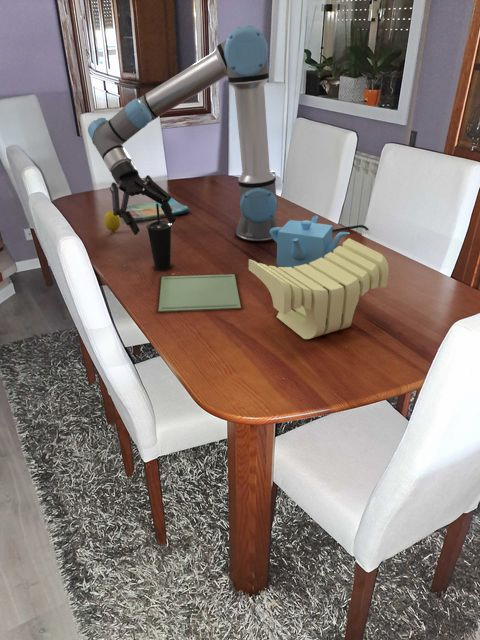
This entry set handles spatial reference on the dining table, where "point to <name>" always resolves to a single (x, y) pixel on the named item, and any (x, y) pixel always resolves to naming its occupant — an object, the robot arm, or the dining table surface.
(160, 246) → the drinking cup
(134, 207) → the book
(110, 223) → the lemon
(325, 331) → the slatted curved stool
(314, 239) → the teakettle
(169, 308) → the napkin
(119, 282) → the dining table surface
